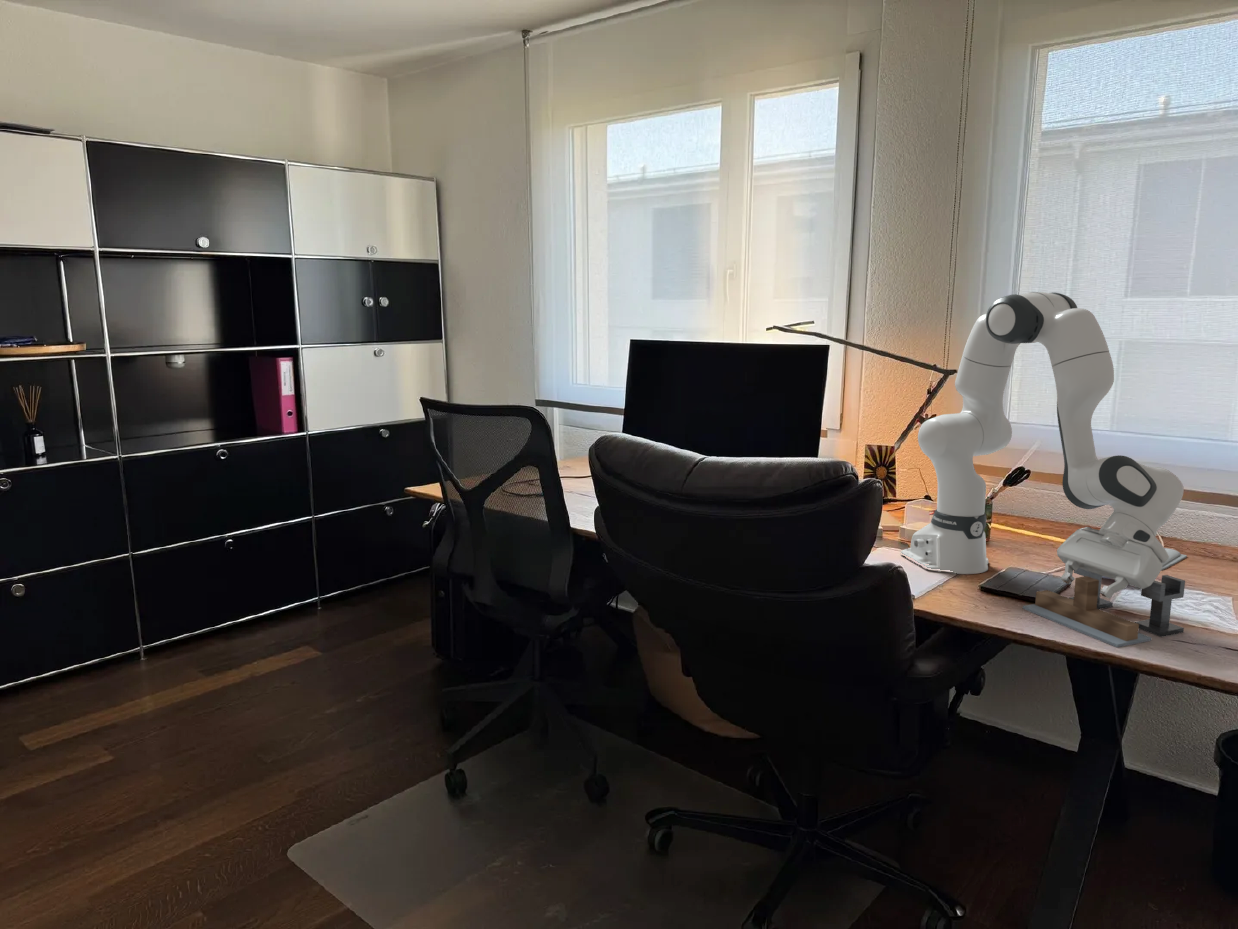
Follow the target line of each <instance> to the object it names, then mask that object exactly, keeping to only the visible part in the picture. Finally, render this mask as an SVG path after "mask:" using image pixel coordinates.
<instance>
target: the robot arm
mask: <svg viewBox="0 0 1238 929" xmlns="http://www.w3.org/2000/svg"><path fill="white" fill-rule="evenodd" d="M1077 305H1078V304H1076V302H1075V301H1074V300H1073V299H1072V298H1071V297H1069V296H1068V295H1066V294H1063V293H1060V292H1043V291H1032V292H1027V293H1019V294H1016V293H1015V294H1008V295H1006V296H1005V295H1004V296H1003V297H1001V298H998V299H996V300H995V301H994V302H993V303H991V305H990V306H989V308H988V309H987V311H986V313H984V314H982V315H980V316H979V317H978V318H977V319H976V321H975V322H974V324H973V326H972V328H971V330H970V333H969V335H968V337H967V340H966V343H965V346H964V348H963V351H962V356H961V359H960V362H959V367H958V370H957V372H956V377H955V381H954V387H955V390H956V391H957V393H958V394H959V395H961V397H962V409H961V411H960V412H957V413H945V414H940V415H937V416H934V417H932V418H929V419H926V420H925V421H924V422H922V424H921V425H920V428H919V429H918V433H917V443H918V446H919V447H920V451H921V452H922V453H923V454H924V455H925V456H927V457H928V459H929V460H930V461H931V464H932V465H933V467H934V470H935V475H936V479H937V496H936V497H937V500H936V509H935V510H934V509H932V510H929V511H928V512H931V513H929V514H928V515H929V516H932V517H931V519H930V523H928V524H927V525H925V526H923V527H921V528H920V529H918V530H917V531H915V532H914V533H913V534H912V537H911V541H910V547H908V548H905V549H902V550H900V554H901V553H902V554H904V555H906V556H908V557H910V558H913V559H914V560H915V561H917V562H918V563H920V564H923V565H924V566H926V567H927V568H931V569H940V570H950V571H953V572H956V573H957V574H956V573H955V574H956V575H973V574H974V575H975V574H980V573H981V574H982V573H985V572H987V571H988V570H989V566H988V564H989V563H990V562H989V558H988V557H987V544H986V543H987V542H986V532H985V528H986V526H987V513H986V512H985V508H986V493H987V483H986V481H985V479H984V477H982V476H980V475H979V474H978V473H977V471H976V469H975V467H974V460H973V459H974V457H977V456H985V455H986V456H987V455H991V454H993V453H996V452H998V451H1001V450H1003V449H1004V448H1006V447H1007V446H1008V445H1009V444H1010V442H1011V439H1012V436H1013V435H1012V434H1013V428H1012V424H1011V422H1010V421H1009V419H1008V418H1007V417H1006V415H1005V413H1004V393H1005V389H1006V386H1007V381H1008V379H1009V374H1010V371H1011V367H1012V364H1013V362H1014V357H1015V354H1016V351H1017V349H1018V347H1019V346H1020V345H1021V344H1035V343H1039V344H1041V345H1043V346H1044V347H1045V349H1046V350H1047V353H1048V357H1049V361H1050V365H1051V369H1052V373H1053V377H1054V381H1055V382H1054V383H1055V389H1056V414H1057V415H1056V417H1057V423H1058V431H1059V436H1060V442H1061V449H1062V455H1063V463H1064V464H1063V465H1064V468H1063V474H1062V482H1061V483H1062V489H1063V490H1062V491H1063V493H1064V495H1065V497H1066V498H1067V499H1068V501H1069V502H1070V503H1072V505H1074V506H1076V507H1078V508H1080V509H1083V510H1094V509H1097V508H1101V507H1103V506H1107V505H1109V506H1110V507H1111V508H1112V509H1113V512H1112V513H1111V515H1109V517H1108V518H1107V520H1106V521H1105V522H1104V524H1103V525H1102V526H1101V527H1100V529H1095V528H1092V527H1089V526H1085V527H1081V528H1078V529H1077V530H1075V532H1073V533H1072V534H1071V535H1070V536H1068V537H1067V538H1066V539H1065V540H1064V541H1063V543H1061V545H1060V546H1059V547H1058V548H1057V550H1056V555H1057V557H1058V558H1059V559H1060V560H1061V562H1062V563H1064V566H1065V567H1064V573H1062V576H1061V577H1060V580H1061V581H1062V582H1063V583H1064V584H1067V585H1071V584H1072V583H1073V582H1075V578H1076V577H1074V576H1073V573H1074V571H1076V570H1077V569H1078V568H1080V569H1083V570H1087V571H1090V572H1093V573H1096V574H1099V575H1102V576H1105V577H1108V578H1111V580H1114V582H1113V583H1111V584H1110V585H1106V584H1105V585H1103V586H1102V588H1101V591H1100V595H1101V596H1102V597H1104V598H1107V599H1111V598H1112V597H1113V596H1114V595H1115V593H1118V592H1120V591H1122V590H1124V589H1126V588H1127V587H1128V585H1129V586H1132V587H1135V588H1138V589H1144V588H1147V587H1149V586H1150V585H1151V584H1152V583H1153V582H1154V580H1155V581H1156V579H1157V577H1158V576H1159V575H1160V573H1161V571H1162V570H1161V569H1162V563H1164V562H1166V561H1167V560H1168V558H1169V555H1168V553H1167V552H1166V550H1165V549H1164V548H1165V546H1163V544H1162V543H1161V542H1160V540H1159V539H1158V538H1157V534H1158V533H1157V532H1158V531H1159V529H1160V528H1161V527H1162V526H1164V525H1165V524H1167V522H1168V521H1169V520H1170V518H1171V517H1172V515H1173V514H1174V513H1175V511H1176V510H1177V508H1178V507H1179V505H1180V503H1181V501H1182V499H1183V496H1184V491H1185V490H1184V485H1183V483H1182V481H1181V480H1180V478H1179V477H1178V476H1176V475H1175V474H1174V473H1173V472H1172V471H1170V470H1168V469H1166V468H1164V467H1152V466H1147V465H1145V464H1144V465H1143V464H1142V463H1139V462H1137V461H1136V460H1135V459H1133V458H1131V457H1130V456H1125V455H1118V454H1117V455H1113V456H1108V457H1104V458H1100V459H1098V458H1097V454H1096V448H1095V440H1094V436H1093V429H1092V419H1093V415H1094V413H1095V410H1096V408H1097V406H1098V405H1099V404H1100V403H1101V401H1102V400H1103V399H1104V398H1105V397H1106V395H1108V393H1109V392H1110V391H1111V389H1112V387H1113V385H1114V383H1115V382H1114V381H1115V370H1114V369H1115V368H1114V364H1113V360H1112V357H1111V352H1110V349H1109V345H1108V343H1107V340H1106V337H1105V335H1104V333H1103V330H1102V328H1101V326H1100V324H1099V322H1098V319H1097V318H1096V317H1095V314H1094V313H1092V312H1091V311H1090V310H1088V309H1085V308H1080V307H1078V306H1077ZM925 564H929V565H925ZM1108 578H1107V579H1108Z"/></svg>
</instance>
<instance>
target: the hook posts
mask: <svg viewBox="0 0 1238 929" xmlns="http://www.w3.org/2000/svg"><path fill="white" fill-rule="evenodd" d="M1073 573H1074V574H1076V575H1079V576H1081V577H1084V576H1088V577H1091V578H1094V579H1097V580H1099V587H1098V598H1097V609H1099V610H1103V609H1108V608H1113V606H1114V602H1112V601H1109V600H1107V599H1104V598H1101V593H1100V591H1101V589H1102V575H1099V574H1096V573H1093V572H1090V571H1087V570H1083V569H1080V568H1078V569H1077V570H1076V571H1074V570H1073ZM1185 587H1186V580H1185V579H1181V578H1178V577H1175V576H1172V575H1168V574H1164V575H1163V574H1162V575H1161V581H1158V580H1156V579H1155V580H1154V582H1153V583H1152V584H1151V585H1150V586H1149V587H1147V588H1144V589H1141V588H1140V589H1141V592H1140V596H1141V597H1145V598H1147V599H1151V601H1150V602H1151V604H1150V611H1149V612H1150V613H1149V618H1148V619H1143V620H1138V621H1134V623H1137V624H1139V629H1140V630H1143V631H1145V632H1148V633H1150V634H1153V635H1156V636H1158V637H1161V638H1165V637H1168V636H1173V635H1179V634H1183V633H1184V630H1185V627H1182V626H1180V625H1178V624H1177V625H1176V624H1174V623H1172V622H1170V619H1171V612H1172V611H1171V610H1172V601H1173V600H1176V599H1181V598H1185V597H1184V596H1185V595H1184V594H1185ZM1068 598H1070V599H1073V600H1074V596H1070V597H1068ZM1139 629H1138V630H1139Z"/></svg>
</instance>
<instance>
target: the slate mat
mask: <svg viewBox="0 0 1238 929" xmlns="http://www.w3.org/2000/svg"><path fill="white" fill-rule="evenodd" d="M1022 610H1024V611H1028V612H1030V613H1032V614H1034V615H1037V616H1040V617H1042V618H1045V619H1047V620H1049V621H1052V622H1054V623H1057V624H1059V625H1062V626H1064V627H1066V628H1068V629H1071V630H1074V631H1076V632H1078V633H1081V634H1084V635H1086V636H1088V637H1091V638H1093V639H1096V640H1098V641H1100V642H1103V643H1105V644H1108V645H1110V646H1113V647H1115V648H1121V647H1125V646H1130V645H1135V644H1140V643H1144V642H1145V643H1146V642H1151V641H1152V637H1151V636H1148V635H1146V634H1143V633H1140V632H1138V639H1134V640H1129V641H1124V640H1122V639H1119V638H1117V637H1114V636H1112V635H1109V634H1107V633H1104V632H1102V631H1099V630H1097V629H1094V628H1092V627H1089V626H1087V625H1084V624H1082V623H1079V622H1077V621H1074V620H1072V619H1069V618H1067V617H1064V616H1062V615H1059V614H1057V613H1054V612H1052V611H1049V610H1047V609H1044V608H1042V607H1039V606H1037V605H1035V603H1032V604H1026V605H1022Z"/></svg>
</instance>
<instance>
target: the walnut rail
mask: <svg viewBox="0 0 1238 929" xmlns="http://www.w3.org/2000/svg"><path fill="white" fill-rule="evenodd" d="M1074 578H1075V579H1074V589H1073V591H1074V592H1073V597H1074V600H1073V599H1070V598H1069V597H1068V596H1064V595H1061V594H1059V593H1057V592H1054V591H1051V590H1048V589H1044V590H1038V591H1036V592H1035V601H1034V602H1035V603H1034V604H1035V605H1037V606H1039V607H1042V608H1044V609H1047V610H1049V611H1052V612H1054V613H1057V614H1059V615H1062V616H1064V617H1067V618H1069V619H1072V620H1074V621H1077V622H1079V623H1082V624H1084V625H1087V626H1089V627H1092V628H1094V629H1097V630H1099V631H1102V632H1104V633H1107V634H1109V635H1112V636H1114V637H1117V638H1119V639H1122V640H1124V641H1129V640H1134V639H1138V633H1139V624H1137V623H1135V621H1132V620H1128V619H1126V618H1123V617H1120V616H1117V615H1115V614H1113V613H1110V612H1107V611H1105V610H1103V609H1097V598H1098V587H1099V580H1097V579H1094V578H1091V577H1088V576H1079V577H1078V576H1077V577H1074Z"/></svg>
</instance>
